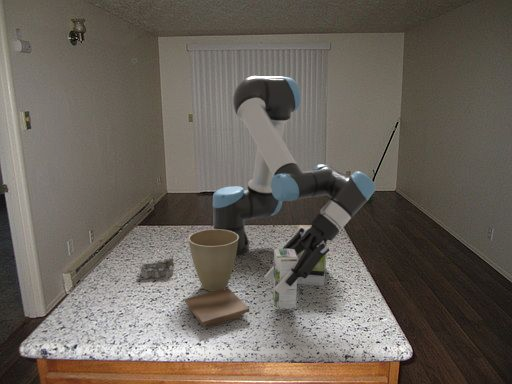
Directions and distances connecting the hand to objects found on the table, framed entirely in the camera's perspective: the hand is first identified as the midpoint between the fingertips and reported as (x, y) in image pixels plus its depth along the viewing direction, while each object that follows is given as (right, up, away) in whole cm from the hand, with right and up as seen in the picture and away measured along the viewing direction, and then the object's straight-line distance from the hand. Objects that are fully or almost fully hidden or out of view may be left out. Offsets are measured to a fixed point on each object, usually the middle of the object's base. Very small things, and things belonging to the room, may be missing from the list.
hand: (272, 285), depth 105 cm
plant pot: (-17, -4, +17) cm, 24 cm away
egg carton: (-37, -2, +26) cm, 45 cm away
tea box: (+13, -2, +24) cm, 27 cm away
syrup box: (+3, -5, +3) cm, 7 cm away
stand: (-15, -8, +1) cm, 17 cm away
